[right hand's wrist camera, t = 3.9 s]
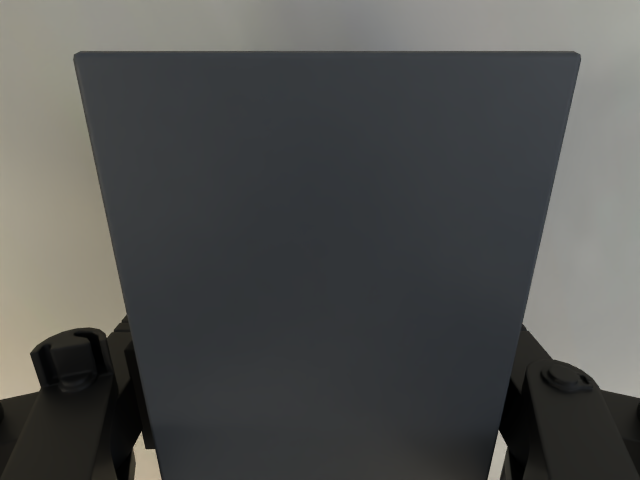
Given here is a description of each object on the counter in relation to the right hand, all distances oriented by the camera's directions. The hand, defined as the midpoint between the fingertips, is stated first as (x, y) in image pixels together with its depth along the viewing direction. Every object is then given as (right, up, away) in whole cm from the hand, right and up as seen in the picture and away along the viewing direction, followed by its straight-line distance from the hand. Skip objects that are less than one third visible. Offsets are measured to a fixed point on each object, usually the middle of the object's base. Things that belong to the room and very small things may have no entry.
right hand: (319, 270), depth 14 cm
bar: (0, -25, +11) cm, 27 cm away
